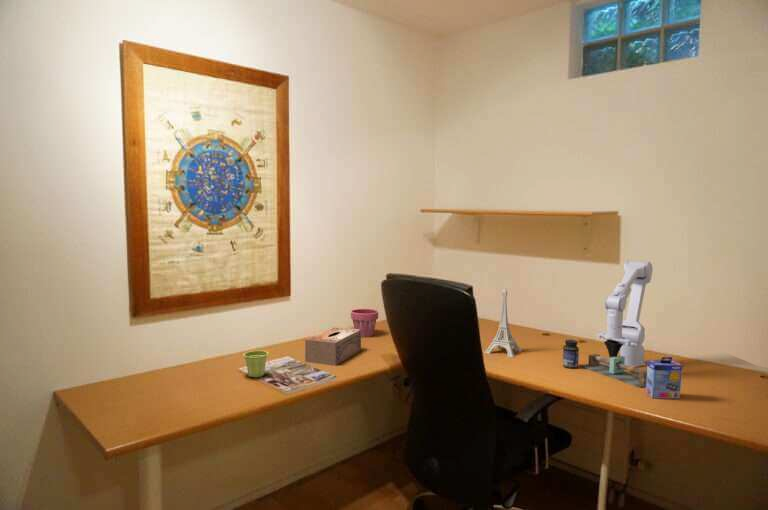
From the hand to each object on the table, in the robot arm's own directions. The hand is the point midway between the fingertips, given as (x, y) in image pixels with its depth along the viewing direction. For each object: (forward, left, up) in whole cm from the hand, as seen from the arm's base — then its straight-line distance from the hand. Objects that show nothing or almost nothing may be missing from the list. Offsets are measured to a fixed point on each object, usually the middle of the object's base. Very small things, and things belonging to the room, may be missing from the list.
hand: (613, 359), depth 204 cm
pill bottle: (+9, -13, -6) cm, 17 cm away
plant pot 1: (+130, -56, -6) cm, 142 cm away
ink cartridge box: (+5, +26, -6) cm, 27 cm away
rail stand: (0, +3, -6) cm, 6 cm away
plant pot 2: (+66, -98, -6) cm, 119 cm away
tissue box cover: (+93, -69, -6) cm, 116 cm away
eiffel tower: (+20, -43, -6) cm, 48 cm away
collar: (0, +2, -5) cm, 5 cm away
